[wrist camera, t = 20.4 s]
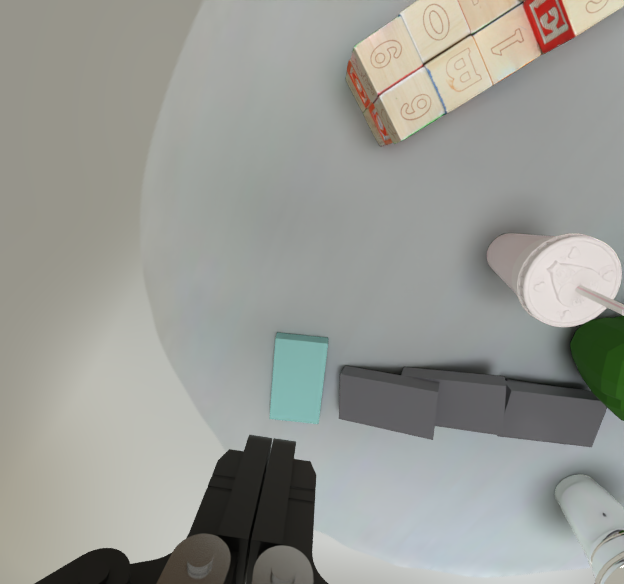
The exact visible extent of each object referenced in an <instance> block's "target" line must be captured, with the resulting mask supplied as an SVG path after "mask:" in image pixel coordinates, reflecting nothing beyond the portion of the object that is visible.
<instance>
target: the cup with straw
mask: <svg viewBox="0 0 624 584" xmlns="http://www.w3.org/2000/svg"><path fill="white" fill-rule="evenodd" d="M554 494H555V498H556V500H557V502H558V503H559V504H560V508H561V510H562V512H563V514H564V516H565V517H566V519H567V521H568V523H569V525H570V527H571V529H572V530H573V532H574V534H575V536H576V538H577V540H578V542H579V543H580V545H581V547H582V549H583V551H584V553H585V555H586V556H587V558H588V562H589V565H590V567H591V569H592V572H593V575H594V577H595V583H594V584H624V507H623V506H622V505H621V504H620V503H619V502H618V501H617V500H616V499H614V498H613V497H612V496H611V495H610V494H609V493H608V492H607V491H606V490H605V489H604V488H603V487H601V486H600V485H598V484H597V483H596V481H595V480H594V479H593V478H591V477H590V476H587V475H582V474H576V475H572V476H569V477H567V478H565V479H563V480H562V481H561V482H560V483H559V484H558V485H557V486H556V489H555V493H554Z"/></svg>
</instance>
